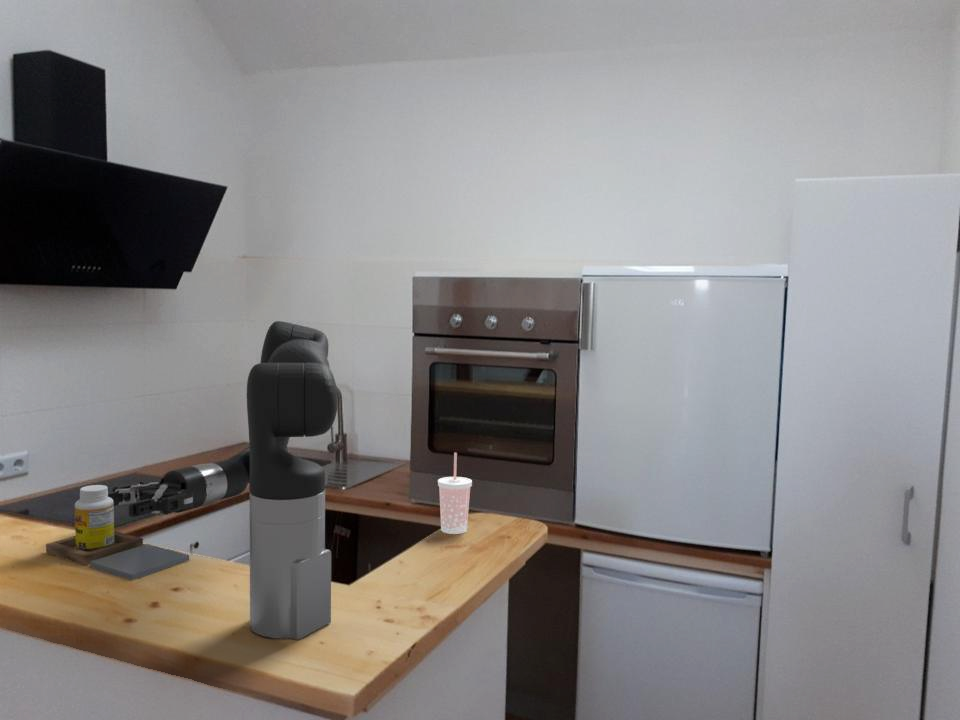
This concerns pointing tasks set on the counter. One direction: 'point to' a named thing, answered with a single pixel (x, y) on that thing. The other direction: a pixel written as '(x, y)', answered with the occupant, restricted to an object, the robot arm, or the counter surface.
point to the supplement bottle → (94, 518)
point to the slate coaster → (139, 561)
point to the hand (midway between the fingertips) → (113, 506)
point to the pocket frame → (68, 551)
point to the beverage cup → (454, 502)
